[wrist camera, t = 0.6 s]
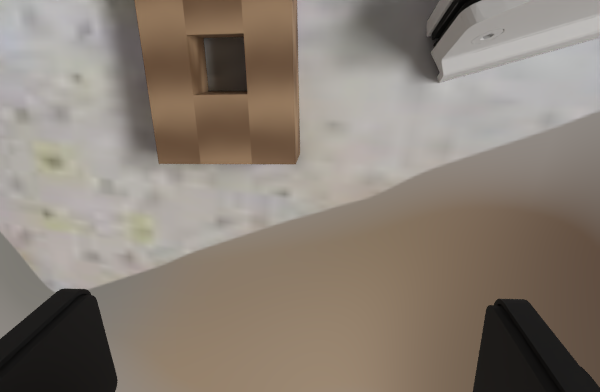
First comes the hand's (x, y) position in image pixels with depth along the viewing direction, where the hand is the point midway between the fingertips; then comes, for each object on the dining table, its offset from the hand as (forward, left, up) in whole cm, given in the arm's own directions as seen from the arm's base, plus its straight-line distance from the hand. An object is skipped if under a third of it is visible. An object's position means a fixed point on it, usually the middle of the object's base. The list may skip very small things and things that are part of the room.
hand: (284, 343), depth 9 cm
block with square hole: (-6, -8, -27) cm, 29 cm away
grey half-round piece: (-10, +17, -28) cm, 34 cm away
